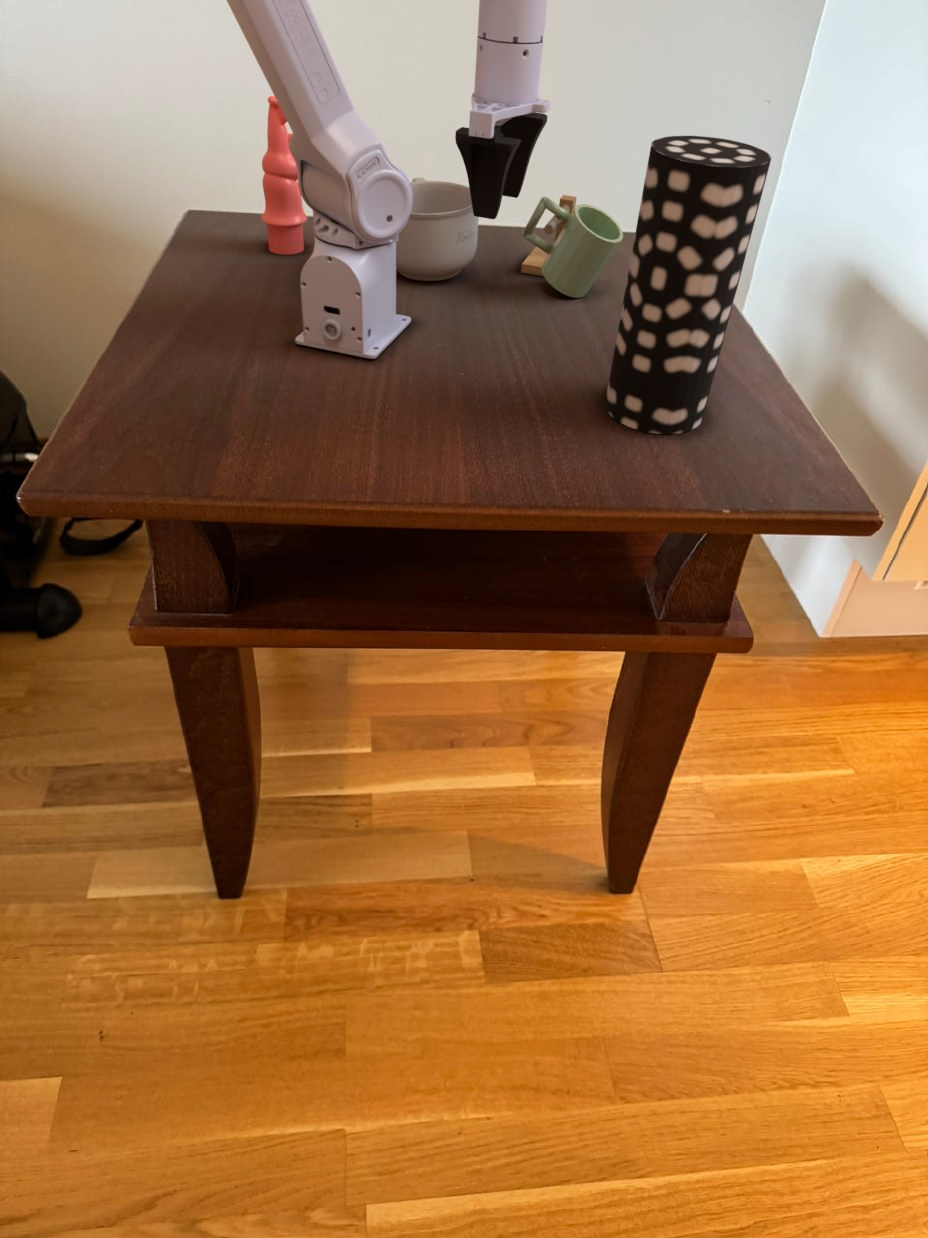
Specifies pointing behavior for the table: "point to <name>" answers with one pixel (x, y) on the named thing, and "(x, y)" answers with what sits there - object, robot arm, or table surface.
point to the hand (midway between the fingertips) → (496, 205)
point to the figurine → (281, 188)
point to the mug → (575, 246)
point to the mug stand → (537, 255)
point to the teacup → (437, 232)
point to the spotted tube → (683, 279)
